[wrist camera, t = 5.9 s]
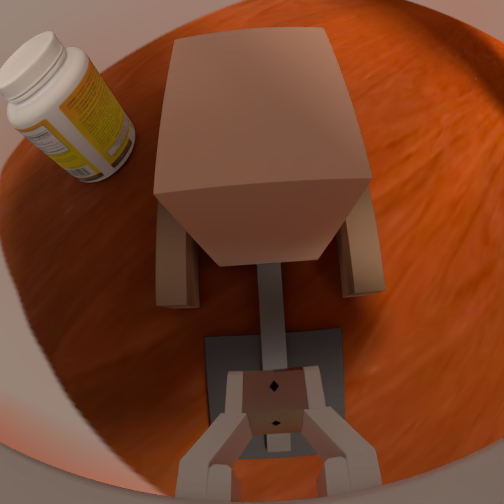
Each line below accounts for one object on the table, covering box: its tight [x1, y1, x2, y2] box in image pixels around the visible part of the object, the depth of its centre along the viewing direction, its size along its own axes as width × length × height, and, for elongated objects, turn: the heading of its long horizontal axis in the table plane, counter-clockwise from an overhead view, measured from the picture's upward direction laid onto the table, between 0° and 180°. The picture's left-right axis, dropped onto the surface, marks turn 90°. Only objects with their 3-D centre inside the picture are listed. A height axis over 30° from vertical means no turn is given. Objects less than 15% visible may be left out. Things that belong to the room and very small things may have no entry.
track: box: [156, 185, 385, 452], centre depth 16 cm, size 28×10×2 cm, turn 3°
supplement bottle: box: [0, 31, 135, 183], centre depth 14 cm, size 6×6×10 cm
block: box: [153, 27, 372, 267], centre depth 11 cm, size 6×5×9 cm
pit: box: [205, 328, 345, 459], centre depth 14 cm, size 7×7×1 cm
